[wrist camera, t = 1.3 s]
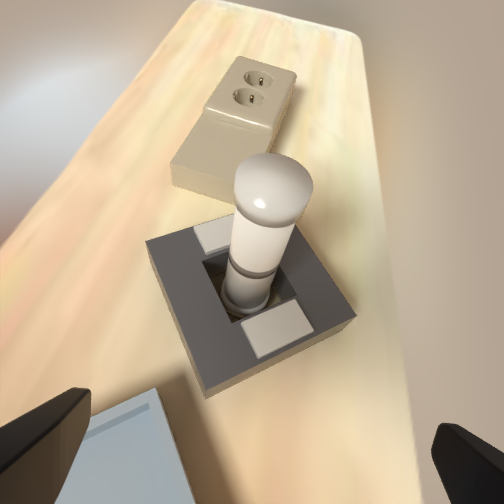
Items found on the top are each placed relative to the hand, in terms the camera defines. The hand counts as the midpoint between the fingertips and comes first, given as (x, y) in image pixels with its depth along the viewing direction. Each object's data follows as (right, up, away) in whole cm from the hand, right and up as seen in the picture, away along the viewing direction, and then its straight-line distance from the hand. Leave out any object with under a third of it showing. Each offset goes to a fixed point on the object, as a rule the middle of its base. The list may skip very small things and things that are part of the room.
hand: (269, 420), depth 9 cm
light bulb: (-1, +1, +17) cm, 17 cm away
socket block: (-1, +1, +17) cm, 17 cm away
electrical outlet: (-2, +16, +28) cm, 32 cm away
